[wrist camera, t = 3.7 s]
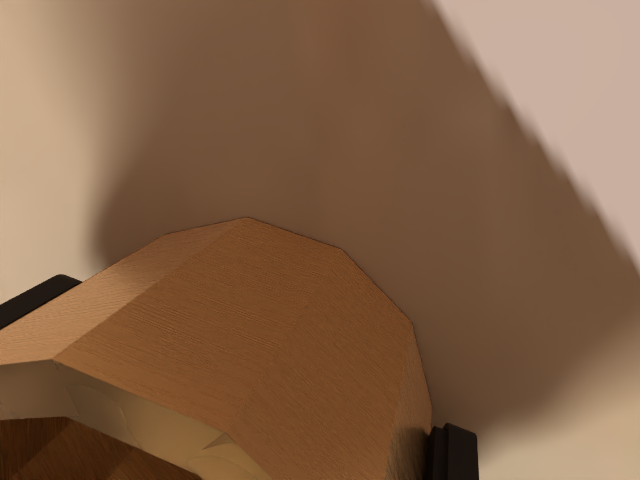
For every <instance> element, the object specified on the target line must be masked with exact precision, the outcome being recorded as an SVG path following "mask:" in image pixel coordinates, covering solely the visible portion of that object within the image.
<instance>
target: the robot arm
mask: <svg viewBox="0 0 640 480" xmlns="http://www.w3.org/2000/svg"><path fill="white" fill-rule="evenodd" d="M80 283H82V281H79V280H77V279H74V278H71V277H69V276H66V275H63V274H59V275H56V276H54V277H52V278H50V279H48V280H46V281H45V282H43V283H41V284H39V285H37V286H35V287H33V288H31V289H29V290H27V291H26V292H24V293H22V294H20V295H18V296H16V297H14V298H12V299H10V300H9V301H7V302H5V303H3V304H1V305H0V330H1V329H3V328H4V327H6V326H8V325H10V324H11V323H13V322H15V321H17V320H18V319H20V318H22V317H23V316H25V315H27V314H29V313H30V312H32V311H34V310H36V309H37V308H39V307H41V306H42V305H44V304H46V303H48V302H49V301H51V300H53V299H55V298H56V297H58V296H60V295H61V294H63V293H65V292H67V291H68V290H70V289H72V288H73V287H75V286H77V285H79V284H80ZM425 480H479V469H478V449H477V436H476V434H475V433H473V432H470V431H468V430H465V429H462V428H460V427H457V426H455V425H452V424H450V423H446V424H445V425H444V427H443V429H441V428H439V427H436V426H434V427H433V428H432V430H431V432H430V434H429V440H428V453H427V466H426V478H425Z"/></svg>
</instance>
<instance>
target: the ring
mask: <svg viewBox="0 0 640 480" xmlns="http://www.w3.org/2000/svg"><path fill="white" fill-rule="evenodd" d="M431 420H432V404H431V400H430V396H429V392H428V388H427V383H426V379H425V375H424V371H423V367H422V362H421V358H420V354H419V350H418V346H417V342H416V337H415V333H414V329H413V325H412V322H411V321H410V320H409V319H408V318H407V317H406V316H405V315H404V314H403V313H402V312H401V311H400V310H399V309H398V308H397V307H396V306H395V304H394V303H393V302H392V301H391V300H390V299H389V298H388V297H387V296H386V295H385V294H384V293H383V292H382V291H381V290H380V289H379V288H378V287H377V286H376V285H375V284H374V283H373V282H372V280H371V279H370V278H369V277H368V276H367V275H366V274H365V273H364V272H363V271H362V270H361V269H360V268H359V267H358V266H357V265H356V264H355V263H354V262H353V261H352V260H351V259H350V258H349V257H348V255H347V254H346V253H345V252H344V251H343V250H342V249H339V248H336V247H333V246H330V245H327V244H324V243H321V242H319V241H316V240H313V239H310V238H307V237H304V236H301V235H298V234H295V233H292V232H289V231H286V230H283V229H281V228H278V227H275V226H272V225H269V224H266V223H263V222H260V221H257V220H254V219H251V218H248V217H246V218H241V219H237V220H232V221H227V222H222V223H217V224H213V225H208V226H203V227H198V228H193V229H189V230H184V231H179V232H174V233H169V234H165V235H163V236H162V237H160V238H158V239H156V240H155V241H153V242H151V243H149V244H148V245H146V246H144V247H143V248H141V249H139V250H137V251H136V252H134V253H132V254H130V255H129V256H127V257H125V258H124V259H122V260H120V261H118V262H117V263H115V264H113V265H111V266H110V267H108V268H106V269H105V270H103V271H101V272H99V273H98V274H96V275H94V276H92V277H91V278H89V279H87V280H86V281H84V282H82V283H80V284H79V285H77V286H75V287H73V288H72V289H70V290H68V291H67V292H65V293H63V294H61V295H60V296H58V297H56V298H55V299H53V300H51V301H49V302H48V303H46V304H44V305H42V306H41V307H39V308H37V309H36V310H34V311H32V312H30V313H29V314H27V315H25V316H23V317H22V318H20V319H18V320H17V321H15V322H13V323H11V324H10V325H8V326H6V327H4V328H3V329H1V330H0V480H425V478H426V466H427V453H428V440H429V434H430V432H431Z"/></svg>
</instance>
